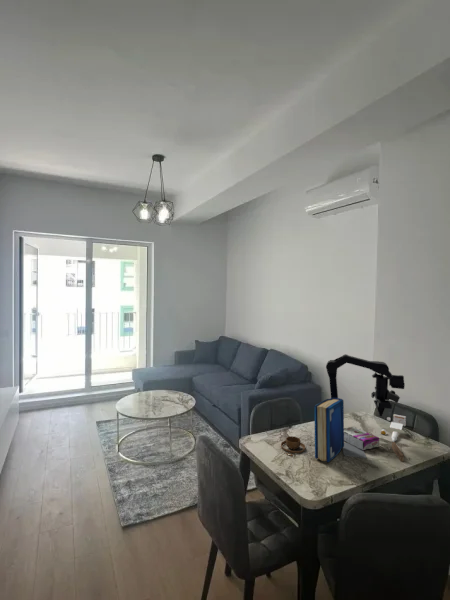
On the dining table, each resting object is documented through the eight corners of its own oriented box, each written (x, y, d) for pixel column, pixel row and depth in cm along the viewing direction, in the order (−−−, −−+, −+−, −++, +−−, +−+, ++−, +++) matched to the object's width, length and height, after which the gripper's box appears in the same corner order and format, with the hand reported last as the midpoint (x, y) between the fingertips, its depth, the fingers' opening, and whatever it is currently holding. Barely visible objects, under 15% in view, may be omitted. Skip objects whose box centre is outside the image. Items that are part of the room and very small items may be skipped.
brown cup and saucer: (290, 439, 174) (290, 428, 174) (327, 451, 162) (327, 439, 161) (273, 451, 160) (274, 439, 160) (312, 465, 148) (313, 452, 148)
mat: (344, 455, 157) (344, 455, 157) (340, 442, 170) (340, 442, 170) (366, 458, 155) (366, 457, 155) (360, 444, 168) (360, 444, 168)
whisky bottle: (386, 421, 201) (378, 443, 176) (386, 412, 200) (378, 432, 176) (405, 425, 195) (399, 448, 170) (405, 416, 195) (400, 437, 170)
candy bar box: (379, 447, 165) (354, 435, 180) (379, 437, 165) (354, 425, 180) (362, 451, 161) (338, 438, 176) (363, 441, 161) (338, 428, 176)
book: (332, 443, 169) (331, 394, 169) (346, 447, 164) (345, 396, 165) (314, 459, 152) (313, 405, 152) (329, 464, 148) (328, 408, 148)
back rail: (400, 461, 152) (400, 455, 152) (391, 447, 166) (392, 441, 166) (403, 461, 152) (403, 455, 152) (394, 447, 166) (394, 442, 166)
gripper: (403, 393, 162) (402, 424, 163) (393, 383, 181) (392, 411, 181) (379, 391, 165) (378, 422, 165) (371, 381, 183) (370, 409, 184)
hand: (380, 416), depth 174 cm, fingers closed
